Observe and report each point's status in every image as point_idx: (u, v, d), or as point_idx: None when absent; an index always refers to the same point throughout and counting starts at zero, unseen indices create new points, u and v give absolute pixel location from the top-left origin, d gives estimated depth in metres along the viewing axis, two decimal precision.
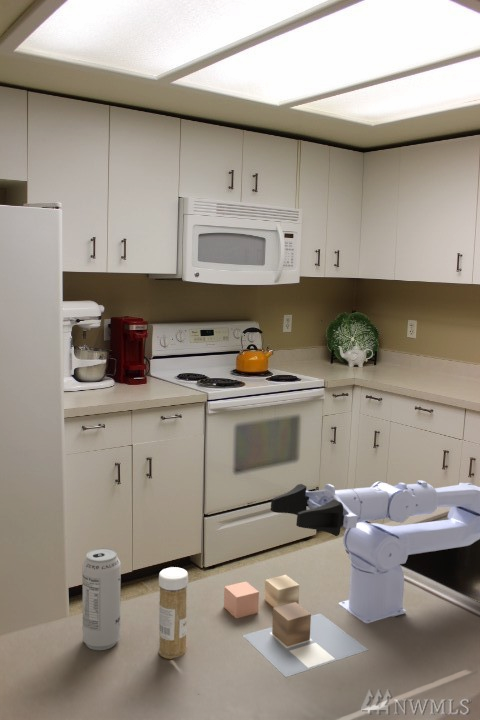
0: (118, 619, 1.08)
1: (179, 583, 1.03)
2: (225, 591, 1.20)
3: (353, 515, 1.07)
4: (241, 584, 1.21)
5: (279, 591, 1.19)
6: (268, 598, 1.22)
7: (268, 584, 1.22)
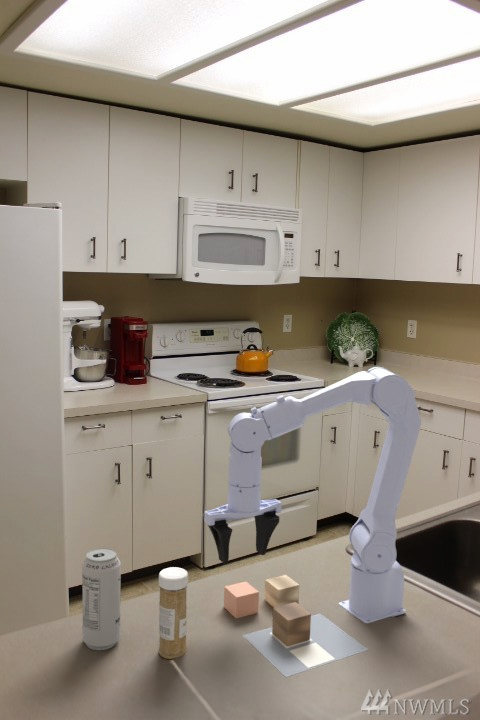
0: (118, 619, 1.08)
1: (179, 583, 1.03)
2: (225, 591, 1.20)
3: None
4: (241, 584, 1.21)
5: (279, 591, 1.19)
6: (268, 598, 1.22)
7: (268, 584, 1.22)
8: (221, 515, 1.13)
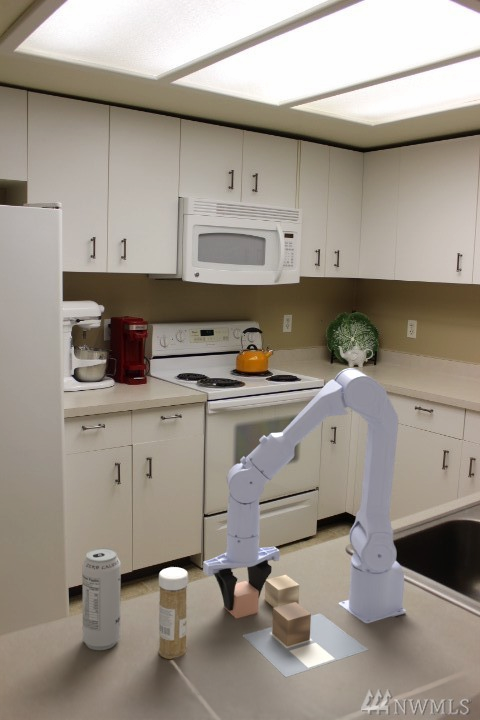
0: (118, 619, 1.08)
1: (179, 583, 1.03)
2: None
3: None
4: (241, 583, 1.21)
5: (279, 591, 1.19)
6: (268, 598, 1.22)
7: (268, 584, 1.22)
8: (220, 565, 1.15)
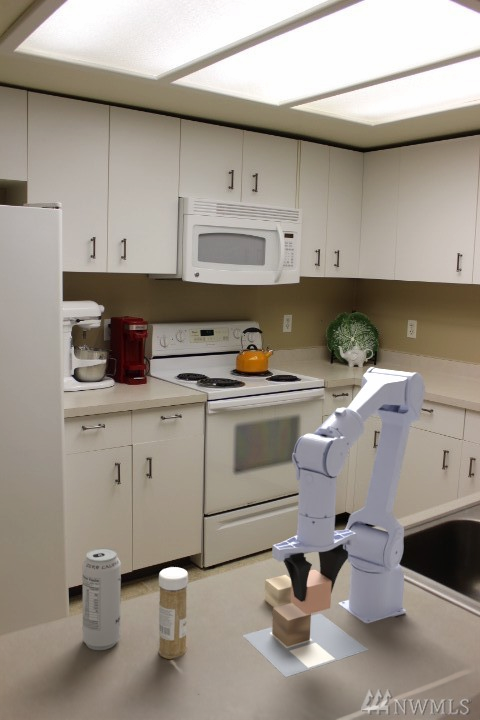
0: (118, 619, 1.08)
1: (179, 583, 1.03)
2: None
3: None
4: (310, 572, 1.07)
5: (279, 591, 1.19)
6: (268, 598, 1.22)
7: (268, 584, 1.22)
8: (292, 549, 1.00)
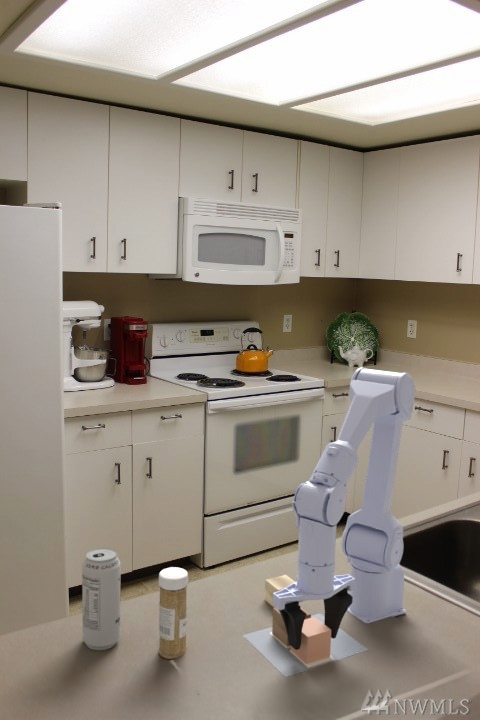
0: (118, 619, 1.08)
1: (179, 583, 1.03)
2: None
3: None
4: (310, 620, 1.08)
5: None
6: (268, 598, 1.22)
7: (268, 584, 1.22)
8: (292, 598, 1.01)
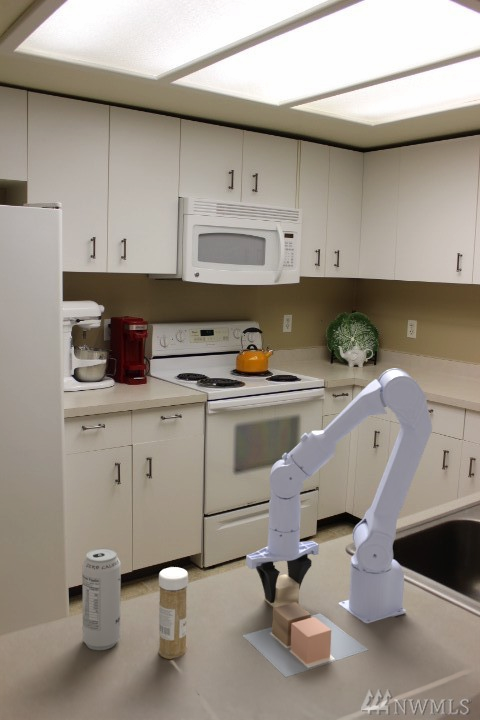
0: (118, 619, 1.08)
1: (179, 583, 1.03)
2: (292, 629, 1.06)
3: None
4: (310, 620, 1.08)
5: (279, 590, 1.19)
6: None
7: None
8: (262, 559, 1.18)
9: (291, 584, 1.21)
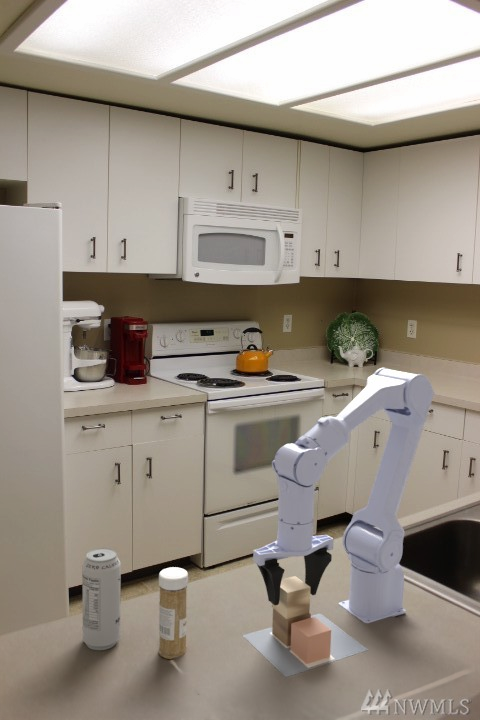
0: (118, 619, 1.08)
1: (179, 583, 1.03)
2: (292, 629, 1.06)
3: None
4: (310, 620, 1.08)
5: (288, 594, 1.08)
6: None
7: None
8: (272, 554, 1.05)
9: (301, 587, 1.09)
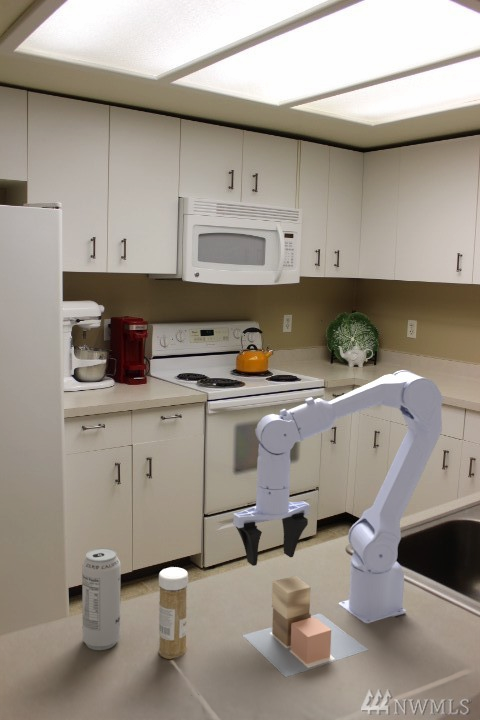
0: (118, 619, 1.08)
1: (179, 583, 1.03)
2: (292, 629, 1.06)
3: None
4: (310, 620, 1.08)
5: (288, 594, 1.08)
6: (276, 602, 1.11)
7: (275, 586, 1.10)
8: (250, 517, 1.13)
9: (301, 587, 1.09)
